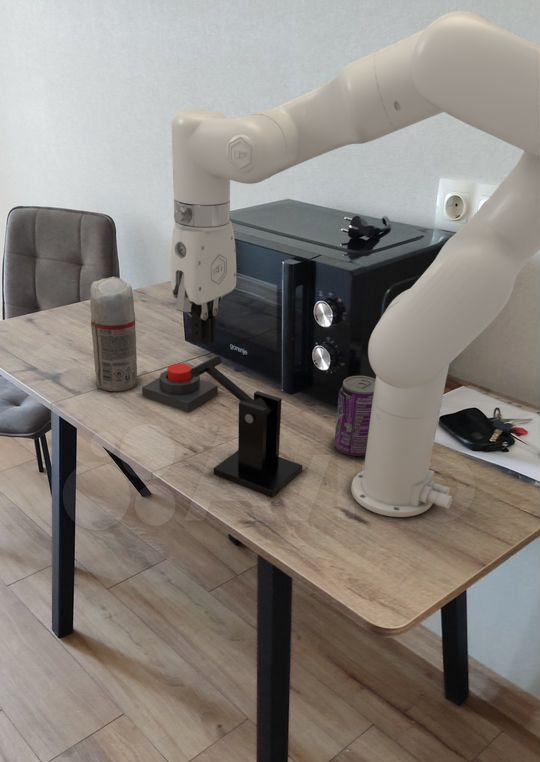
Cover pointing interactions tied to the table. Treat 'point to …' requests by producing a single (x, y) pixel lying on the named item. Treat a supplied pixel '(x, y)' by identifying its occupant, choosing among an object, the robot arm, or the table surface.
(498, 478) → the table surface
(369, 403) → the beverage can
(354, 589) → the table surface
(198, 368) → the lever
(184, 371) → the button
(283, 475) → the bracket
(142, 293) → the table surface
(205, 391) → the button block
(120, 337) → the spray can
